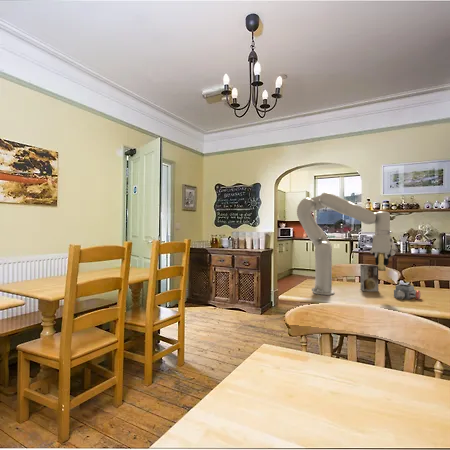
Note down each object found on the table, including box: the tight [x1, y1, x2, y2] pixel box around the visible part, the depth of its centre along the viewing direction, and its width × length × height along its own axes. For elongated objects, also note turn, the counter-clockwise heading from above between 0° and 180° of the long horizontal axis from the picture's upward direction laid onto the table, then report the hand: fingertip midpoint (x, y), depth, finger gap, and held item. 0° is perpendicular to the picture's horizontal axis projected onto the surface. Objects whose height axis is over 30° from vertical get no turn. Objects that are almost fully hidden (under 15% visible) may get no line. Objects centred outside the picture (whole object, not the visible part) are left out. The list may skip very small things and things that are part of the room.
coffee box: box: [359, 264, 380, 292], centre depth 193 cm, size 9×6×16 cm
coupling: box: [377, 253, 387, 272], centre depth 175 cm, size 4×4×10 cm
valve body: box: [393, 283, 421, 301], centre depth 175 cm, size 16×11×7 cm
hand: (381, 264), depth 175 cm, fingers closed on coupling, 4 cm apart
